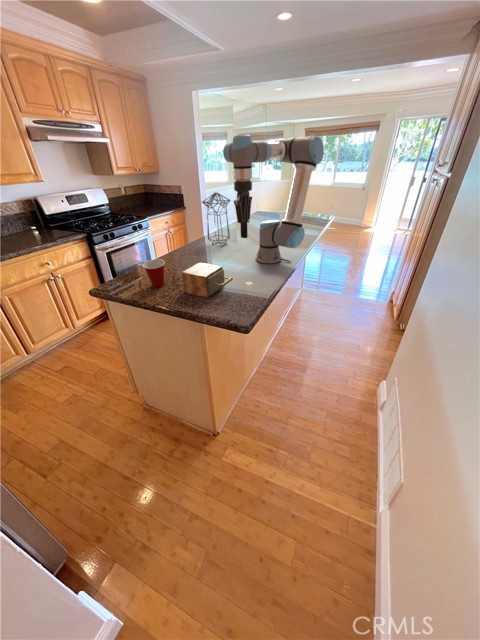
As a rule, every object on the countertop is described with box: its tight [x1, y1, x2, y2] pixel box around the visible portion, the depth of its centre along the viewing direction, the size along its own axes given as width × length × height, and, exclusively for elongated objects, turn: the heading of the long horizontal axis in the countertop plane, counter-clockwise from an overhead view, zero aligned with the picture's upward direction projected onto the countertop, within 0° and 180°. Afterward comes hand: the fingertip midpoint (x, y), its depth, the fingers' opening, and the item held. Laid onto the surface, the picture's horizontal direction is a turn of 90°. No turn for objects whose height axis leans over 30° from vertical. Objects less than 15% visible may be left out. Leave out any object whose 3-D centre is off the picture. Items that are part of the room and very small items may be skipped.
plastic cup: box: [142, 258, 166, 288], centre depth 134 cm, size 11×11×12 cm
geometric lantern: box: [201, 191, 232, 247], centre depth 188 cm, size 16×16×35 cm
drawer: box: [206, 268, 234, 297], centre depth 127 cm, size 18×13×9 cm
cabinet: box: [181, 262, 223, 299], centre depth 129 cm, size 13×14×10 cm
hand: (244, 237), depth 124 cm, fingers closed
